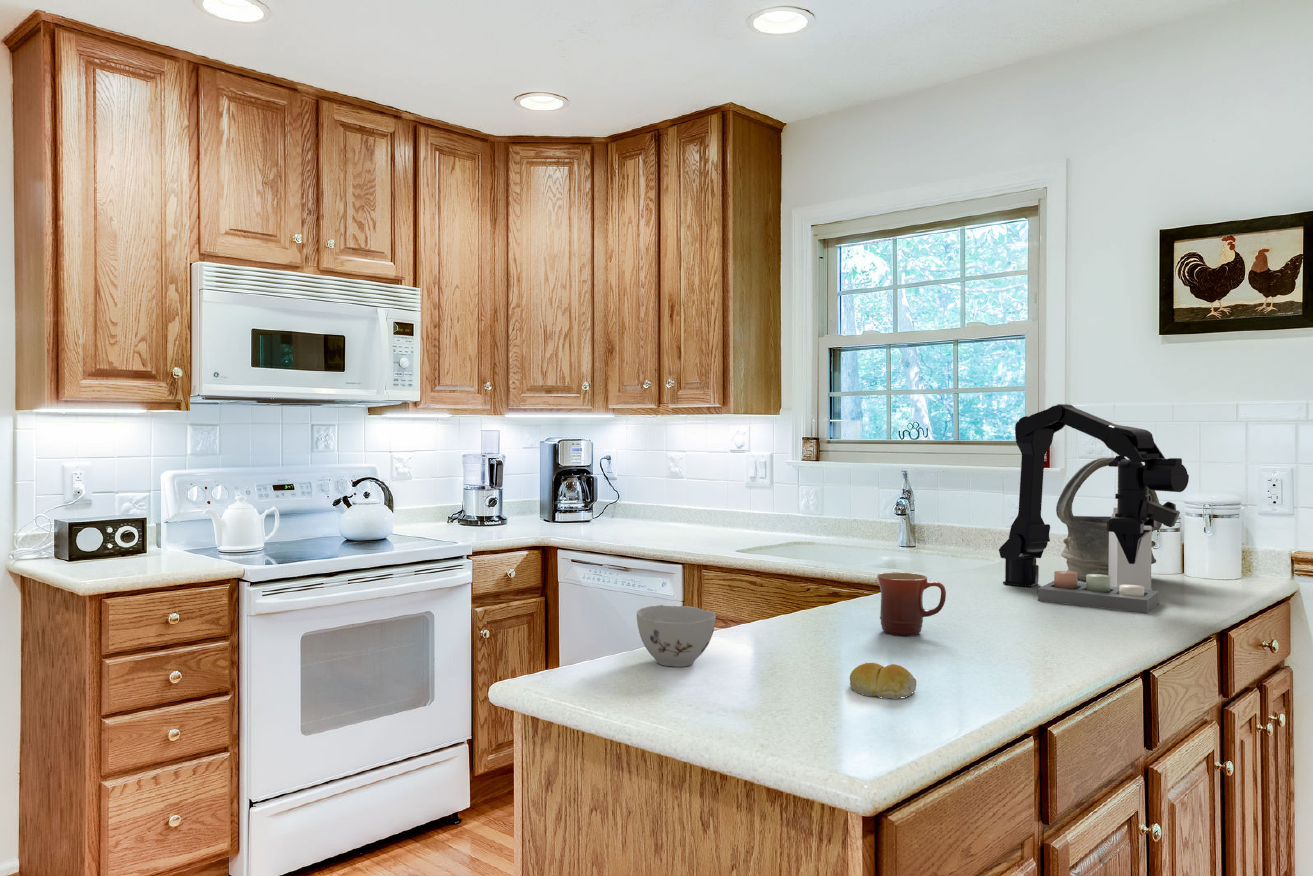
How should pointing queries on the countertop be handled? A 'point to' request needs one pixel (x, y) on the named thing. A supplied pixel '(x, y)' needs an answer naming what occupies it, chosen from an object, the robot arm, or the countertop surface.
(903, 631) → the mug
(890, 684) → the bread roll
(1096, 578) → the sage button
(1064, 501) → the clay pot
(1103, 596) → the panel
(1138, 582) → the milk carton
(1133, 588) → the cream button
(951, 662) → the countertop surface
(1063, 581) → the terracotta button
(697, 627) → the teacup
